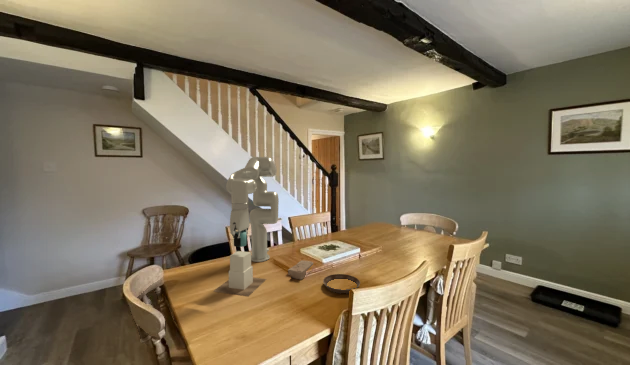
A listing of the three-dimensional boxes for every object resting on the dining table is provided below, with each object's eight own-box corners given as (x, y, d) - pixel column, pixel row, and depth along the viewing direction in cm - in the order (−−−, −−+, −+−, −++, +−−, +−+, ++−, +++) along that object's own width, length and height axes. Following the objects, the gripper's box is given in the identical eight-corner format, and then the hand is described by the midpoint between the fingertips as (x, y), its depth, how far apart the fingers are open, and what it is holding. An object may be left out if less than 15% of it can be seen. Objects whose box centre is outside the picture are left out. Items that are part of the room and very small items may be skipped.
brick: (301, 266, 150) (301, 258, 149) (314, 269, 146) (314, 260, 146) (287, 278, 134) (287, 269, 134) (301, 281, 131) (301, 272, 131)
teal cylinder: (238, 243, 125) (238, 230, 124) (248, 243, 123) (248, 231, 123) (232, 246, 120) (232, 233, 119) (242, 247, 118) (242, 234, 118)
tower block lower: (238, 280, 128) (238, 264, 127) (252, 282, 125) (252, 266, 125) (228, 287, 120) (228, 270, 119) (244, 289, 118) (243, 272, 117)
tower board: (235, 277, 134) (235, 275, 134) (266, 281, 129) (266, 279, 129) (212, 294, 116) (212, 291, 116) (248, 299, 112) (248, 296, 112)
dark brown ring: (336, 276, 137) (336, 270, 137) (366, 286, 125) (366, 279, 125) (315, 288, 123) (315, 282, 123) (347, 300, 112) (347, 293, 112)
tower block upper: (238, 265, 126) (238, 251, 126) (251, 266, 125) (250, 252, 124) (230, 270, 120) (229, 255, 119) (243, 272, 118) (243, 257, 117)
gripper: (242, 203, 130) (243, 238, 131) (222, 208, 113) (222, 249, 114) (256, 204, 128) (256, 240, 129) (237, 209, 111) (237, 250, 112)
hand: (240, 244), depth 121 cm, fingers closed on teal cylinder, 5 cm apart
